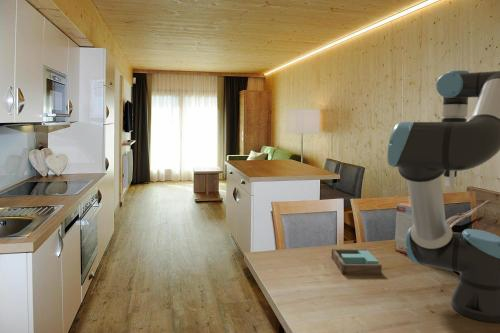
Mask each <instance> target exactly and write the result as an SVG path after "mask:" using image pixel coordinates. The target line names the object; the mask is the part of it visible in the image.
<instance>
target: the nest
mask: <svg viewBox="0 0 500 333" xmlns="http://www.w3.org/2000/svg"><path fill="white" fill-rule="evenodd" d="M358 251H368V250H367V248H364V249H361V248H360V249H359V248H356V249H355V248H353V249H352V248H351V249H350V248H349V249H348V248H347V249H346V248H343V249H342V248H341V249H338V248H336V249H335V248H331V259H332V261H333V262H334V264H335V265H336V267H337V268H338V269H339V271H340V273H341V274H342V275H343V276H345V275H355V276H356V275H357V276H358V275H363V276H364V275H367V276H368V275H371V276H373V275H379V276H380V275H382V264H381V263H378V264H345V263H344V261H343V260H342V259H341V254H358Z"/></svg>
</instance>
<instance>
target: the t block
mask: <svg viewBox="0 0 500 333" xmlns="http://www.w3.org/2000/svg"><path fill="white" fill-rule="evenodd" d="M341 259H342V260H343V261H344V263H345V264H379V260H378V259H377V258H376V257H375V256H374V255H373V254H372V253H371V252H370V251H369V250H367V251H358V254H341Z"/></svg>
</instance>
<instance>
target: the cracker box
mask: <svg viewBox="0 0 500 333" xmlns="http://www.w3.org/2000/svg"><path fill="white" fill-rule="evenodd" d="M413 225H414V220H413V214H412V209H411V203H408V202H407V203H406V202H400V203H397V204H396V218H395V232H394V234H395V236H394V251H395V252H399V253H402V254H405V255H407V252H406V236H407V232H408V230H409V228H410V227H412V226H413Z"/></svg>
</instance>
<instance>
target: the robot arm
mask: <svg viewBox="0 0 500 333" xmlns="http://www.w3.org/2000/svg"><path fill="white" fill-rule="evenodd" d="M435 88H436V91H437V93H438V94H439V95H440V96H441V97H443V99H442V100H443V103H442V113H441V114H442V115H441V116H442V119H441V121H415V120H412V121H400V122H398V123H396V124H395V125H394V127H393V128H392V131H391V134H390V138H389V141H388V147H387V159H386V160H387V164H388V165H389V166H390V167H393V168H397V169H398V173H399V175H400V176H401V178H402V179H404V180H405V181H406V184H407V191H408V197H409V201H410V203H409V204H411V209H412V214H413V220H414V225H413V226H412V227H410V228H409V230H408V232H407V236H406V252H407V254H406V255H407V257H408V259H409V260H410V261H411V262H413V263H416V264H419V265H421V266H427V267H433V268H437V269H442V270H447V271H452V272H457V273H459V281H458V283H457V284H456V287H455V289H454V292H453V293H452V294H451V299H450V300H451V302H450V306H451V307H452V309H454V311H456V312H457V313H458V314H461V315H463V316H465V317H467V318H470V319H473V320H477V321H480V322H485V323H494V324H495V323H500V236H499V235H497V234H494V233H491V232H488V231H485V230H480V229H472V228H466V229H464V230H463V231H462V233H460V232H454V231H453V229H452V227H451V226H450V224H449V223H448V222H446V210H445V202H444V191H443V182H442V176H444V177H445V181H444V186H445V187H449V188H453V187H454V186H455V178H456V177H457V173H458V172H460V171H461V172H462V171H467V170H470V169H474V168H476V167H479V166H481V165H483V164H485V163H486V162H488V161H490V160H491V159H492V158H493V157H495V156H496V155H497V154H498V153H499V152H500V70H496V71H482V72H481V71H479V72H470V71H468V70H449V71H447V72H446V73H445V72H444V73H443V74H442V75H441V76H439V77H438V78H437V80H436V84H435ZM469 98H477V100H476V102H475V105H474V108H473V111H472V113H471V115H470V117H469V118H468V119H467V118H466V117H468V110H469V109H468V105H469V103H468V102H469Z"/></svg>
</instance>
